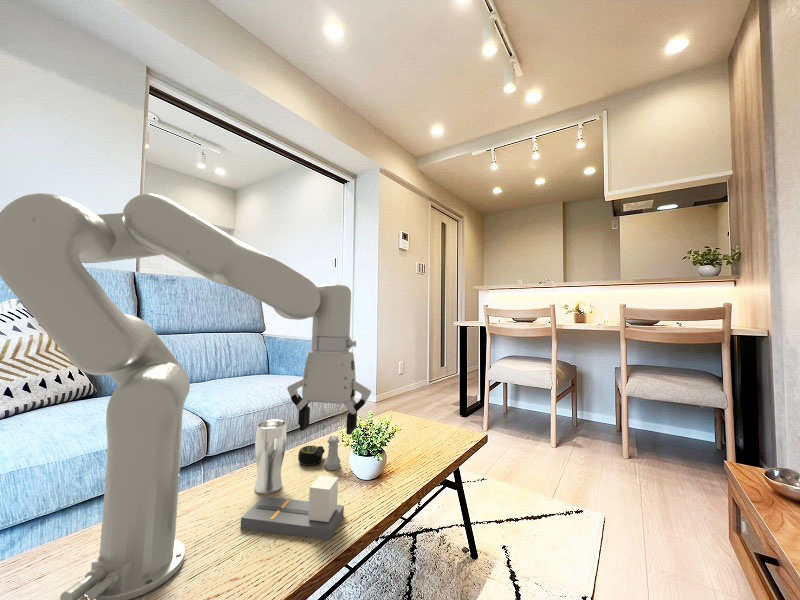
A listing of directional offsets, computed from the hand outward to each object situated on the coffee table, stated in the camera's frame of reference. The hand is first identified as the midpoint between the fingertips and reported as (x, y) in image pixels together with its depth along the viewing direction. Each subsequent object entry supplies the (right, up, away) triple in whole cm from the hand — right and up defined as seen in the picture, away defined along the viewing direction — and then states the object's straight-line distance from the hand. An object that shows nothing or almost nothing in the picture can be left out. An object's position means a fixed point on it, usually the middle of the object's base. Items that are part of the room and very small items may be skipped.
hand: (327, 430), depth 67 cm
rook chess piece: (-4, -20, +24) cm, 32 cm away
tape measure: (-10, -20, +28) cm, 36 cm away
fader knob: (-1, -16, -1) cm, 16 cm away
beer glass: (-17, -19, +12) cm, 28 cm away
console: (-7, -18, 0) cm, 19 cm away
